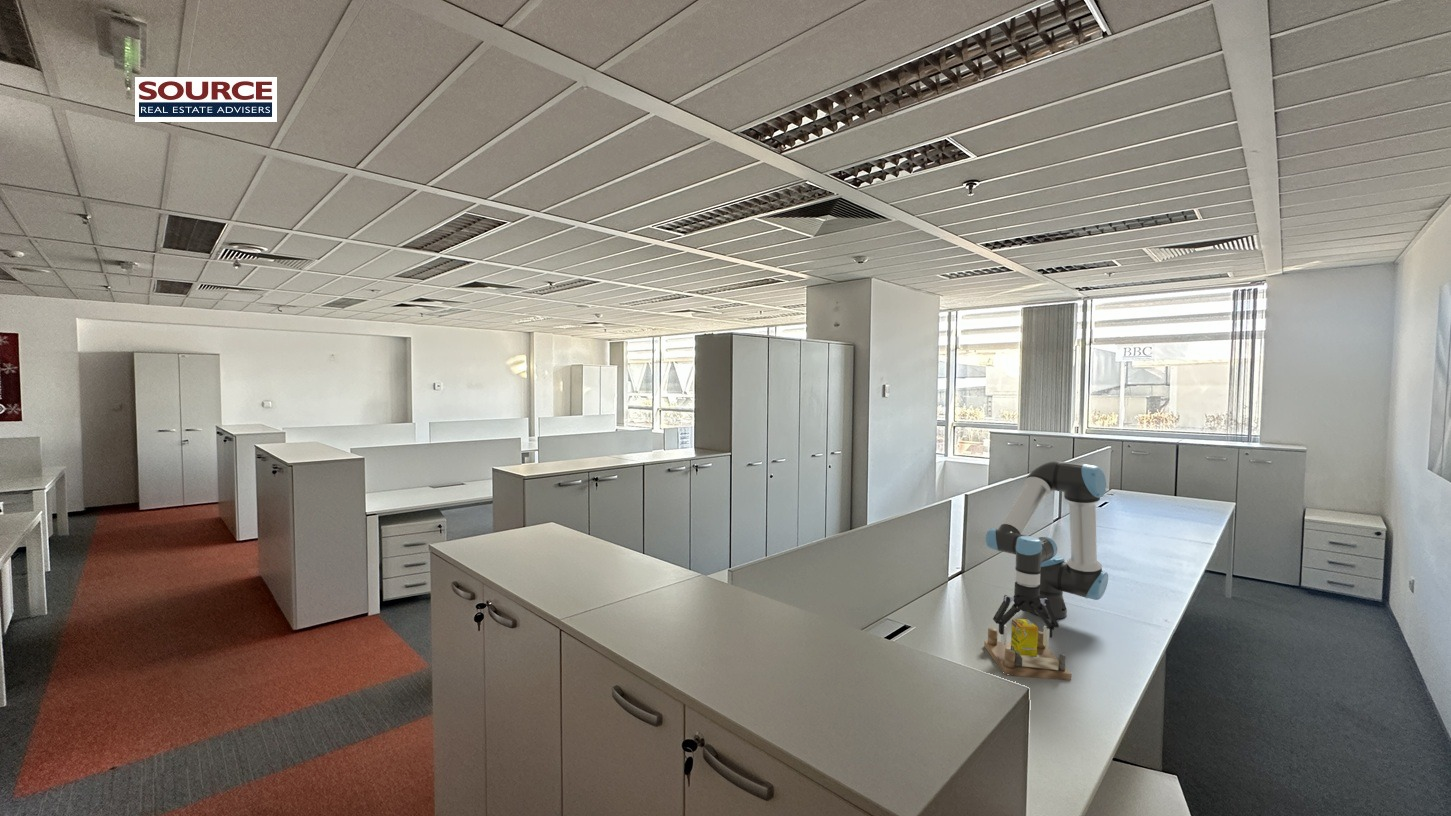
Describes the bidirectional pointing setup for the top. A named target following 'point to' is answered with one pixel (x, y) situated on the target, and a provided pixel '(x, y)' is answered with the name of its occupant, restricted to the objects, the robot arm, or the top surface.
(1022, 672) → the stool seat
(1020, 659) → the stool leg
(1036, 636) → the supplement box
